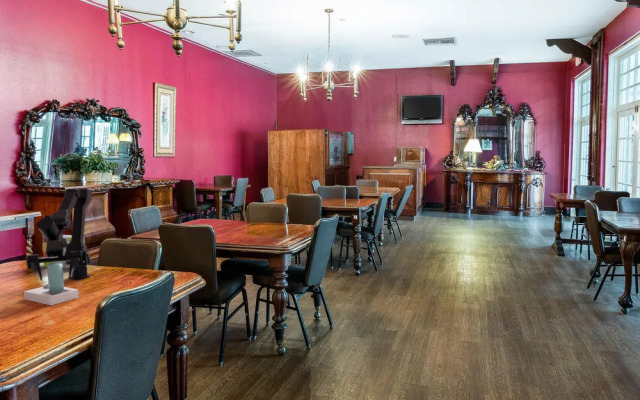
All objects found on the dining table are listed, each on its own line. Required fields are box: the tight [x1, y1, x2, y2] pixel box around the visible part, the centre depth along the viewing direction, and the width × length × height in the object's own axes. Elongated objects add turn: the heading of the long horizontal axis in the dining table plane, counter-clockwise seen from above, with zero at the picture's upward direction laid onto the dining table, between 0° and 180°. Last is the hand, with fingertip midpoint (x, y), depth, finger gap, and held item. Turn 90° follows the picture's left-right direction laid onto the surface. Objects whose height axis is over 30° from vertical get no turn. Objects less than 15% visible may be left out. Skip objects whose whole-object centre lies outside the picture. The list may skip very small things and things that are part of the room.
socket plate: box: [23, 284, 80, 306], centre depth 191 cm, size 16×11×4 cm
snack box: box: [41, 234, 86, 269], centre depth 242 cm, size 21×6×15 cm, turn 71°
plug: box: [46, 263, 65, 295], centre depth 189 cm, size 5×5×13 cm
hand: (55, 278), depth 188 cm, fingers open, 9 cm apart
